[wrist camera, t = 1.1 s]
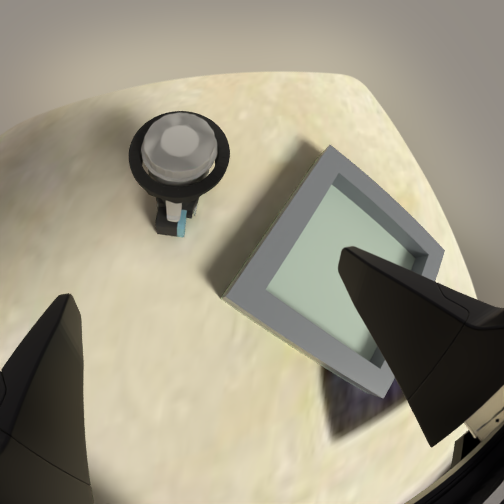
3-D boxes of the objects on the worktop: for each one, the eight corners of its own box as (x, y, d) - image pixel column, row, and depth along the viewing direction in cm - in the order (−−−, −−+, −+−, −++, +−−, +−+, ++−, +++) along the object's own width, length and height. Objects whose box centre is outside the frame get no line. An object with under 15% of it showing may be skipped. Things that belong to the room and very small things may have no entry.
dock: (364, 392, 24) (383, 398, 21) (219, 298, 23) (225, 296, 20) (425, 256, 29) (444, 250, 26) (316, 159, 28) (329, 144, 25)
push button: (154, 160, 23) (148, 79, 14) (216, 169, 25) (241, 91, 15) (138, 236, 22) (113, 182, 12) (206, 245, 23) (226, 197, 14)
